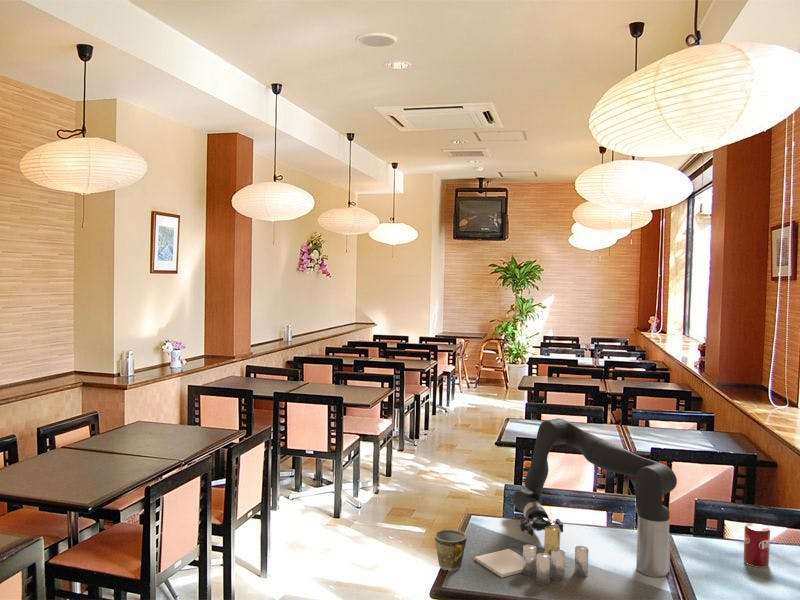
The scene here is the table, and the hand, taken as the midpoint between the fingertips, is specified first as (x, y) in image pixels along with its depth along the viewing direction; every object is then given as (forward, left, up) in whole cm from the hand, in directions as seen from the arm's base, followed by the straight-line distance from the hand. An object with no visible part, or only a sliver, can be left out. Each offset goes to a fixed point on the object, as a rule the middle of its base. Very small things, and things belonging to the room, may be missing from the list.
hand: (545, 533), depth 219 cm
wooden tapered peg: (+5, +9, -7) cm, 12 cm away
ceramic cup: (+34, -4, -7) cm, 35 cm away
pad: (+17, +1, -7) cm, 18 cm away
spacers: (+8, +13, -7) cm, 17 cm away
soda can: (-56, +38, -7) cm, 68 cm away
